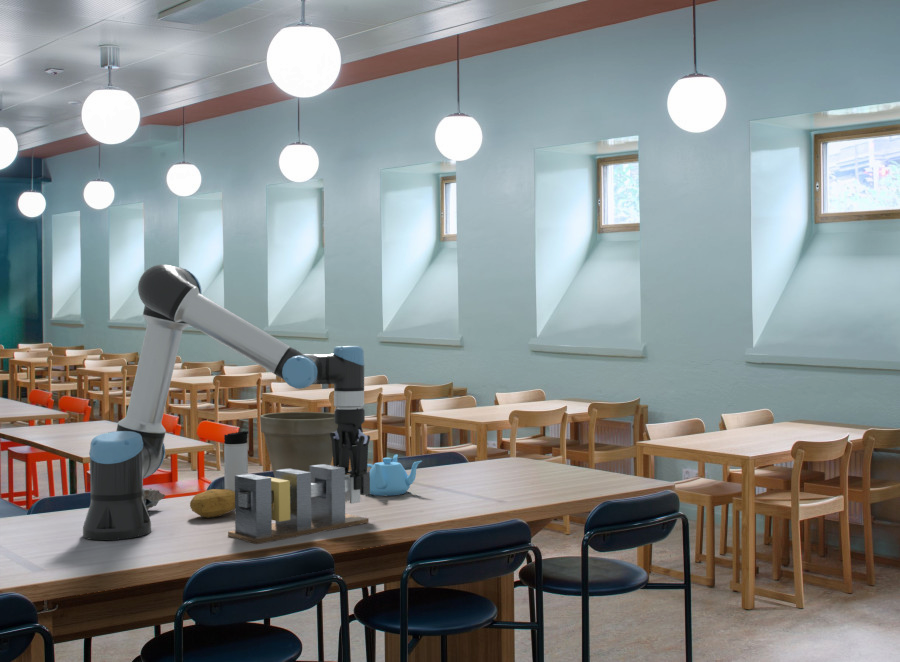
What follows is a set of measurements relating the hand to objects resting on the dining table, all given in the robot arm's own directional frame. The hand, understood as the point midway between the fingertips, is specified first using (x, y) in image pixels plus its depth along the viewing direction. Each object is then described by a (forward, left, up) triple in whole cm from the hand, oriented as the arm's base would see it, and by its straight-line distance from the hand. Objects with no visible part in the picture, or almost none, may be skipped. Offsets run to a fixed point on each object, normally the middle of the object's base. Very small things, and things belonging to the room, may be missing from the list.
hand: (350, 501), depth 238 cm
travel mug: (-8, +40, -5) cm, 41 cm away
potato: (-21, +29, -5) cm, 36 cm away
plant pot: (+22, +52, -5) cm, 57 cm away
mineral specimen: (-31, +49, -5) cm, 58 cm away
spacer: (-22, 0, -1) cm, 23 cm away
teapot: (+32, +22, -5) cm, 39 cm away
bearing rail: (-15, 0, -5) cm, 16 cm away
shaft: (-14, 0, +2) cm, 14 cm away
